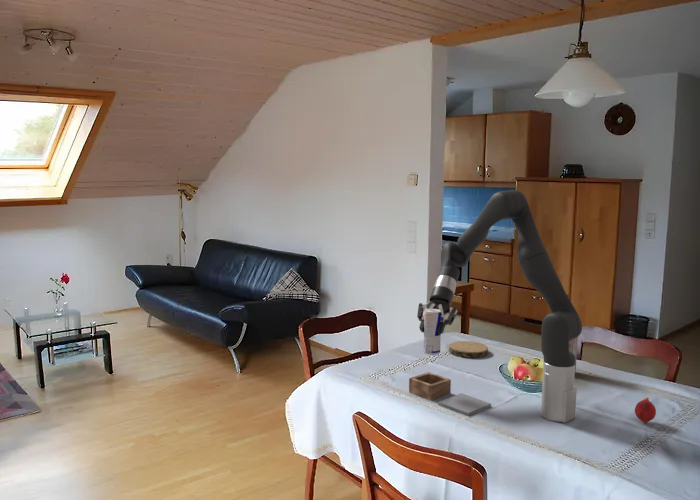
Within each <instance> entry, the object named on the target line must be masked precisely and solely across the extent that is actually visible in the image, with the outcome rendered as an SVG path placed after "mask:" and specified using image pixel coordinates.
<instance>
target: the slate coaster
mask: <svg viewBox="0 0 700 500" xmlns="http://www.w3.org/2000/svg"><path fill="white" fill-rule="evenodd" d="M438 406H440V407H443V408H446V409H449V410H451V411H453V412H456V413H459V414H460V415H463V416H467V417H469V416H473V414H476V413H478V412H481V411H483V410H486V409H489V408H491V407H492V403H491V402H488V401H485V400H482V399H479V398H476V397H474V396H470V395H468V394H466V393H465V394H464V393H462V392H461V393H459V394H456V395H453V396H450V397H448V398H445V399H443V400H440V401H438Z"/></svg>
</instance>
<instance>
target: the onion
mask: <svg viewBox="0 0 700 500" xmlns="http://www.w3.org/2000/svg"><path fill="white" fill-rule="evenodd" d="M649 399H650V398H648V397H647V396H646V397H644V398H643V399H642V400H640V401H637V403H636V405H635V407H634V414H635V416H636V417H637V419H638V420H639V421H641V422H642V423H643V424H647V423H649V422H650V421H652V420H653V419H655V417H656V414H657V410H656V406H655V405H654V404H653V403H652V402H651V401H650V400H649Z"/></svg>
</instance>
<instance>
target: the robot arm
mask: <svg viewBox="0 0 700 500" xmlns="http://www.w3.org/2000/svg"><path fill="white" fill-rule="evenodd" d="M529 205H530V204H529V202H528V200H527V198H526V196H525V194H524V193H523V192H521V190H517V189H510V190H509V189H508V190H501V191H497V192H495V193H494V194H493V195H492V196H491V197H490V199H489V200H488V201H487V203H486V204H485V206H484V207H483V209H482V210H481V212H480V213H479V215H478V216H477V218H476V219H475V220H474V221H473V223H471V225H470V226H469V227H468V228H467V229H466V230H465V231H464V232H463V233H461V235H460V236H459V237H458V239H457V243H456V242H453V241H447V242H446V243H444V244H443V246H442V247H441V250H440V266H439V267H440V268H439V272H438V274H437V278H436V280H435V282H434V285H433V287H432V290H431V293H430V296H429V300H428V302H427V303H426V304H423V303H421V302H419V304H418V308H417V318H418V319H417V320H418V321H419V322H420V324H419V330H420V332H421V333H423V334H424V312H425V311H424V310H425V309H438V310H441V322H440V324H439V327H438V331H437V333H438V335H442V334H443V333H444V331H445V328H446V326H451V325H452V324H453V322H454V320H455V318H456V317H457V316H458V313H459V311H458V308H457V307H456V306H453V307H452V302H453V299H454V295H455V293H456V290H457V289H456V288H457V283H458V280H459V276H460V274H461V272H460V268H463V267H465V266H467V264H468V263H469V261H470V258H471V256H472V254H473V253H474V251H475V250H476V249H478V248H479V246H480V245H481V244H483V242H484V241H486V239H487V238H488V236H489V231H490V229H492V228H491V227H493V226H494V225H495V224H497V223H498V222H500V221H502V220H509V219H511V220H512V222H513V225H514V227H515V229H516V231H517V238H518V243H517V261H518V263H519V266H520V268H521V271H522V273H523V275H524V277H525V278H526V280H527V282H529V284H530V285H531V286H532V287H533V289H535V290H536V291H537V292H538V293H539V294H540V295H541V296H542V297H543V299H544V300H545V302H546V303H547V304H546V305H547V306H548V307H549V310H550V312H551V313H548V314H546V315H545V316H544V318H543V320H542V323H541V329H540V331H541V332H540V333H541V338H540V339H541V342H540V344H541V346H540V347H541V353H542V356H543V364H542V365H543V366H542V367H543V369H542V386H541V387H542V388H541V407H540V414H541V416H542V418H544V419H546V420H549V421H551V422H560V423H563V424H565V423H568V422H570V421H572V420H573V419H574V420H575V419H576V406H577V393H578V392H577V391H578V390H577V388H576V387H575V374H576V372H575V355H574V354H573V353H571V352H569V340H571V339H575V338H577V337H578V338H579V336H580V335H581V333H582V330H583V323H582V321H581V317H580V316H579V313H578V311H577V310H576V308H575V306H574V305H573V303H572V302H571V300H570V298H569V296H568V294H567V292H566V291H565V288H564V287H563V284H562V281H561V280H560V277H559V276H558V273H557V272H556V269H555V267H554V263H553V261H552V259H551V257H550V255H549V253H548V251H547V249H546V247H545V244H544V243H543V240H542V237H541V236H540V233H539V231H538V228H537V226H536V223H535V220H534V218H533V215H532V211H531V208H530V206H529ZM448 313H449V315H448V317H447V318H446V315H447V314H448Z"/></svg>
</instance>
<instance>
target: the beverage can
mask: <svg viewBox="0 0 700 500" xmlns="http://www.w3.org/2000/svg"><path fill="white" fill-rule="evenodd" d="M423 316H424V333H423V352H424V354H426V355H429V356H437V355H440V353H441V338H442V337H441V335H442V334H441V335H438V333H437V331H438V327H439V324H440V322H441V310H438V309H428V308H426V309H425V310H424V312H423Z"/></svg>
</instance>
